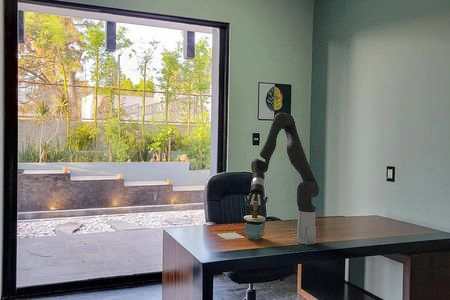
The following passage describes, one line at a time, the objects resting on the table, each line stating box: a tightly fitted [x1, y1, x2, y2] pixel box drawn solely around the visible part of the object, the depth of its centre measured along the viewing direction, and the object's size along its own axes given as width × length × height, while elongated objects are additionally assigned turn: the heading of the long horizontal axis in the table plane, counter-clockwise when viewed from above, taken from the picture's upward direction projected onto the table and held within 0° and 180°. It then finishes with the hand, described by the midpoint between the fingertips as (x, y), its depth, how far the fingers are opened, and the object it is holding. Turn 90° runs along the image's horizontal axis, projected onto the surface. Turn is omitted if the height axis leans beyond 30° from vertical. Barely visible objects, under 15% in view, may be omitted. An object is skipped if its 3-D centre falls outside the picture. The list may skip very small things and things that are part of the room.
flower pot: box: [244, 221, 266, 241], centre depth 212 cm, size 9×9×9 cm
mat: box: [216, 232, 246, 240], centre depth 215 cm, size 12×12×1 cm
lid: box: [243, 201, 267, 222], centre depth 212 cm, size 12×12×10 cm
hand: (254, 211), depth 210 cm, fingers closed on lid, 3 cm apart
